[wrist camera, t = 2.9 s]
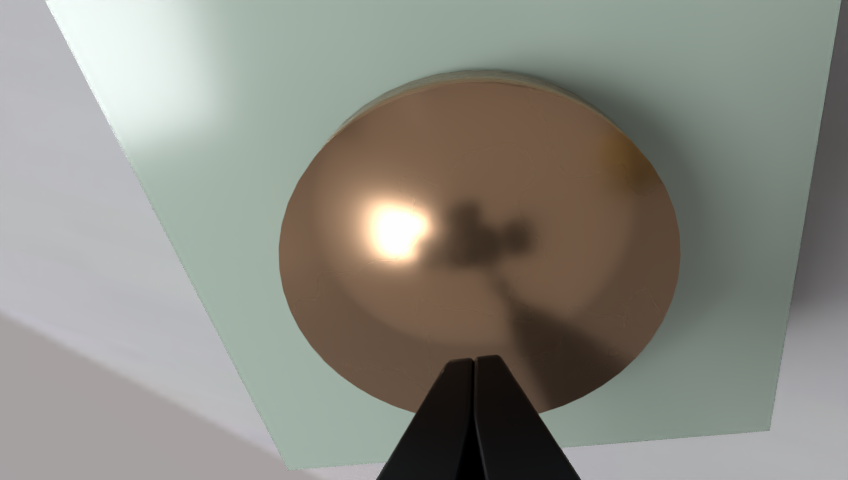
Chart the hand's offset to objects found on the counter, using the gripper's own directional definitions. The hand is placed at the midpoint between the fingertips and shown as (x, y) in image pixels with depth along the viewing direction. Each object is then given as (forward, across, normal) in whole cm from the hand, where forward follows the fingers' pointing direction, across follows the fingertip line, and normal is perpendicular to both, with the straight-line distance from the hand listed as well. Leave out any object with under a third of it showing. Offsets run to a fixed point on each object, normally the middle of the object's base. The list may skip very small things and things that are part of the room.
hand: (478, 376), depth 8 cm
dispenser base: (+9, 0, 0) cm, 9 cm away
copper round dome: (+8, 0, 0) cm, 8 cm away
